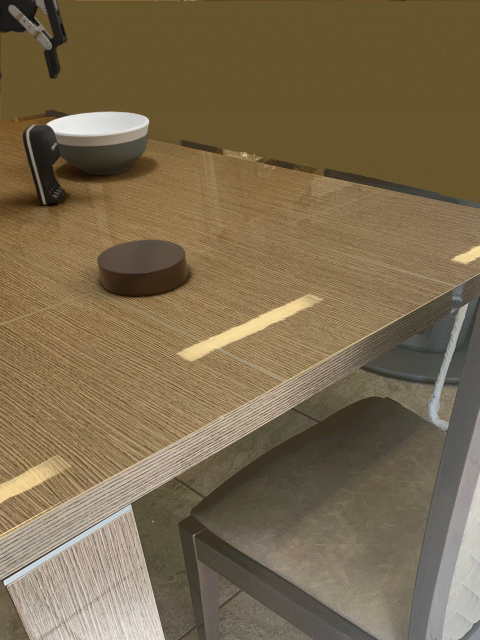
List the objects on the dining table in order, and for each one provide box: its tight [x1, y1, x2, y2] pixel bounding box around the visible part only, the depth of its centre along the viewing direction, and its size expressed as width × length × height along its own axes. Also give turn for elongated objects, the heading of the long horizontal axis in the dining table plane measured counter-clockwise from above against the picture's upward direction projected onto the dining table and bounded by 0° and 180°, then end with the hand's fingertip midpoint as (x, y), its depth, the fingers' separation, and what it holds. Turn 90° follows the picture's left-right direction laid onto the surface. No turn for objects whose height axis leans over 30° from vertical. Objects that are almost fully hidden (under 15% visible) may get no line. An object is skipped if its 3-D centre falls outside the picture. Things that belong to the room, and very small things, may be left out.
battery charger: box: [22, 124, 66, 206], centre depth 105 cm, size 7×4×11 cm, turn 6°
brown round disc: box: [96, 239, 189, 297], centre depth 83 cm, size 11×11×3 cm
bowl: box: [45, 111, 150, 176], centre depth 121 cm, size 19×19×8 cm
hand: (26, 78), depth 98 cm, fingers open, 8 cm apart
